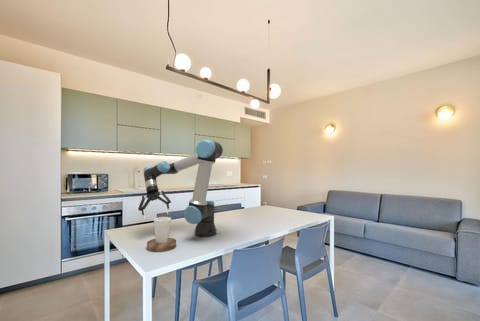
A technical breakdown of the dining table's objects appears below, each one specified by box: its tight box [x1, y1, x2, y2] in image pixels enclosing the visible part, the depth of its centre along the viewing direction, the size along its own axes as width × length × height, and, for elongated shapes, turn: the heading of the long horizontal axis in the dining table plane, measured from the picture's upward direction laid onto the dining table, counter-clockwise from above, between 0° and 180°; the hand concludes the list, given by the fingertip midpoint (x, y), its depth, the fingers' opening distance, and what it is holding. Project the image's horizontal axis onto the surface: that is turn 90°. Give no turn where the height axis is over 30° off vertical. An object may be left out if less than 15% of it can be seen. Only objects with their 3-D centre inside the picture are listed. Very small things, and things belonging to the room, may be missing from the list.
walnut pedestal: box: [146, 237, 177, 253], centre depth 129 cm, size 16×16×3 cm
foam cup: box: [153, 216, 172, 243], centre depth 130 cm, size 10×9×13 cm
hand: (156, 216), depth 144 cm, fingers open, 13 cm apart
